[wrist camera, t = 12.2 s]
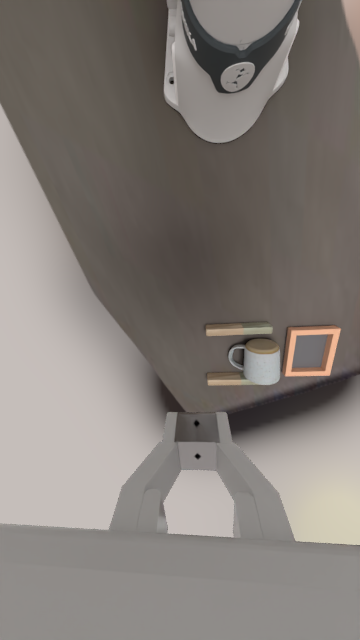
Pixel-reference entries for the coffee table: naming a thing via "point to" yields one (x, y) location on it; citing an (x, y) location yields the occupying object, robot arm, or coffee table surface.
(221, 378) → the channel walls
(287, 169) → the coffee table surface
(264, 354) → the ceramic mug
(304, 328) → the frame
